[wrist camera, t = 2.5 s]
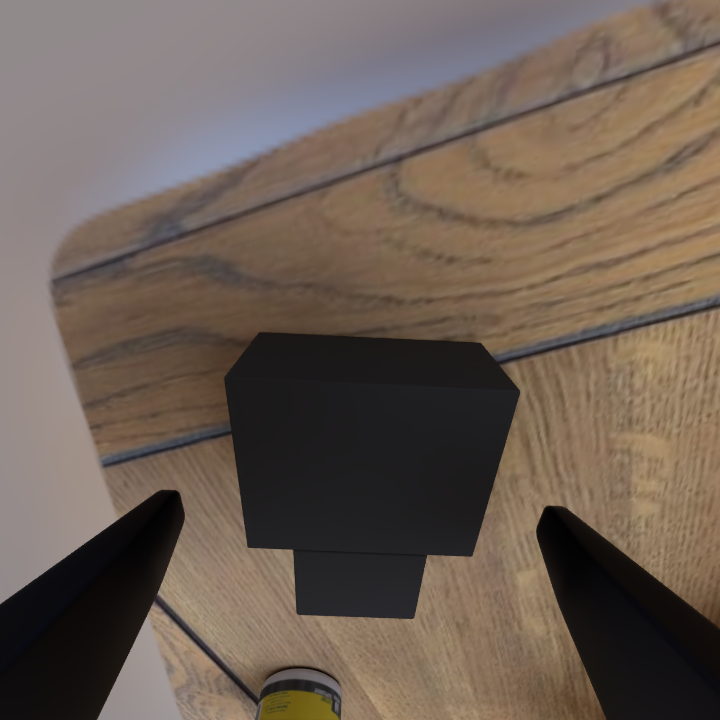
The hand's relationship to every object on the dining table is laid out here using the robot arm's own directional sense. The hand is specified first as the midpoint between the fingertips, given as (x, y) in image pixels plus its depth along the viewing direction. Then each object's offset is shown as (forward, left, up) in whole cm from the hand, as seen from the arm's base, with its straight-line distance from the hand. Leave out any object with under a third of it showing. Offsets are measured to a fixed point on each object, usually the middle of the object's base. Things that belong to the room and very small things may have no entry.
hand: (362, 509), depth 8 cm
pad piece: (0, -2, -4) cm, 4 cm away
